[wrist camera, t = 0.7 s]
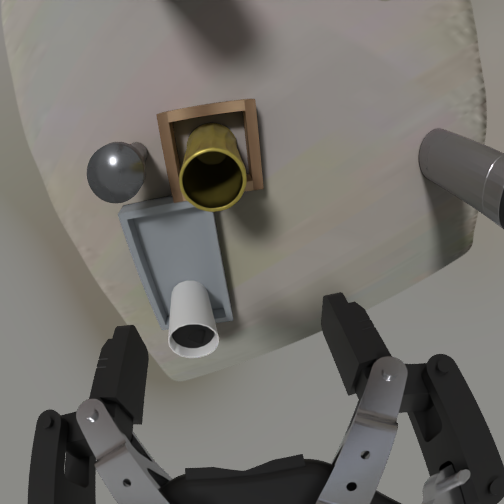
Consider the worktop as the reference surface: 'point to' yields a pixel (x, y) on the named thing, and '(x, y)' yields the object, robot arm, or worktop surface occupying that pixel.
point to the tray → (175, 253)
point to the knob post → (117, 171)
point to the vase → (212, 169)
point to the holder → (203, 110)
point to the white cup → (192, 321)
